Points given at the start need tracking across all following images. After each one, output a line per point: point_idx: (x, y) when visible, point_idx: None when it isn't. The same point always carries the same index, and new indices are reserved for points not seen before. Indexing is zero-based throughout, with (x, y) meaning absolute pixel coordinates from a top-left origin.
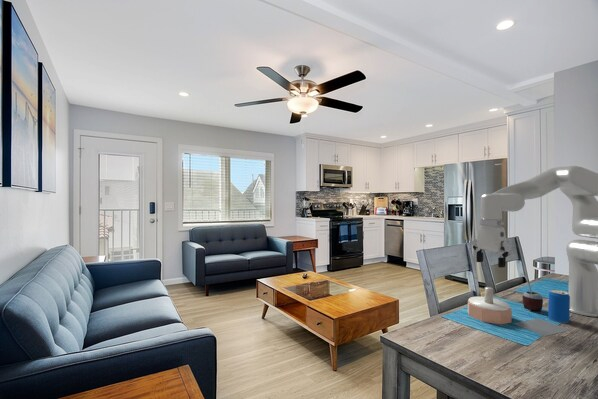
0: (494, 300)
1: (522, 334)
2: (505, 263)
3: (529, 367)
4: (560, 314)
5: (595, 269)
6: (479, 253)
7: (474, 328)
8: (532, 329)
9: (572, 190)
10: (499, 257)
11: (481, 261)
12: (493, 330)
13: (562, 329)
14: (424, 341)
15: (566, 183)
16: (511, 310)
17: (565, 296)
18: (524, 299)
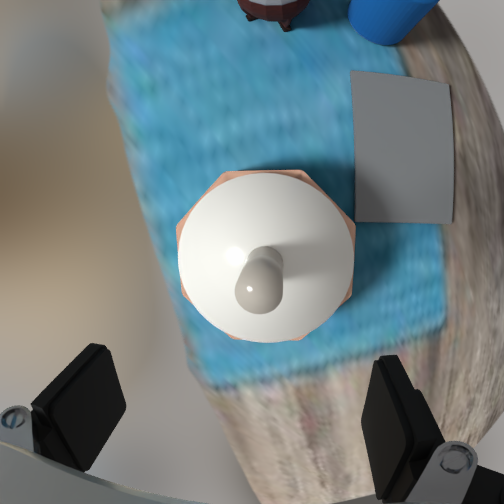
0: (251, 207)
1: (410, 267)
2: (423, 400)
3: (472, 395)
4: (408, 31)
5: None
6: (78, 457)
7: (318, 370)
8: (412, 207)
9: None
10: (392, 502)
11: (112, 367)
12: (353, 329)
13: (441, 105)
14: (313, 485)
15: None
16: (355, 226)
17: None
18: (260, 12)
